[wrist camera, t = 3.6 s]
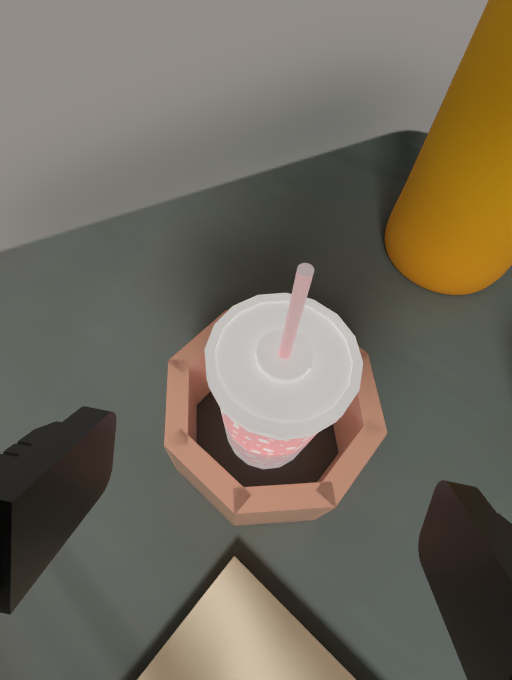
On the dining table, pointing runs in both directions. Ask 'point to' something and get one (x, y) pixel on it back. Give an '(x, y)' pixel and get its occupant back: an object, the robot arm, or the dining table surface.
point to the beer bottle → (463, 174)
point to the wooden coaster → (242, 638)
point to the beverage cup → (281, 372)
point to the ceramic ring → (275, 500)
